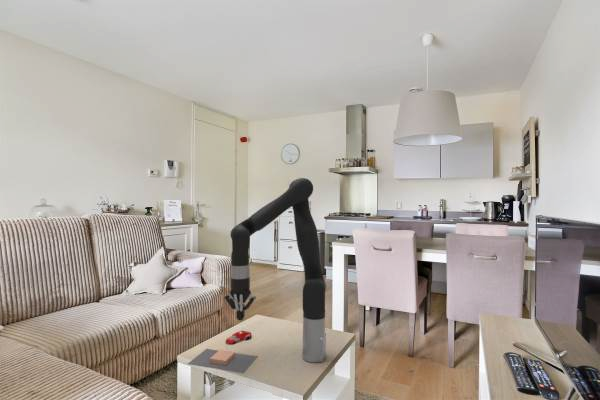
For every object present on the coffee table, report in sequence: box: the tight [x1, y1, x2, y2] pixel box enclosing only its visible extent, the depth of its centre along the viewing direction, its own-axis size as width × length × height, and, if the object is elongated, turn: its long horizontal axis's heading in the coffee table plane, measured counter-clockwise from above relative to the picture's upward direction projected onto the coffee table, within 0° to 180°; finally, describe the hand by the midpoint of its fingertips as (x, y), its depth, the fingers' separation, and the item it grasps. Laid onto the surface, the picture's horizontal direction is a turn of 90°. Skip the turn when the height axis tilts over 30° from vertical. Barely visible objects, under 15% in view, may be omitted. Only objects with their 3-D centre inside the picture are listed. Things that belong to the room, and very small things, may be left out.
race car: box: [225, 330, 253, 346], centre depth 152 cm, size 13×5×4 cm, turn 136°
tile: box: [210, 349, 236, 366], centre depth 132 cm, size 2×8×7 cm
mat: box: [187, 348, 259, 374], centre depth 132 cm, size 24×14×1 cm, turn 75°
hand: (240, 319), depth 130 cm, fingers closed
